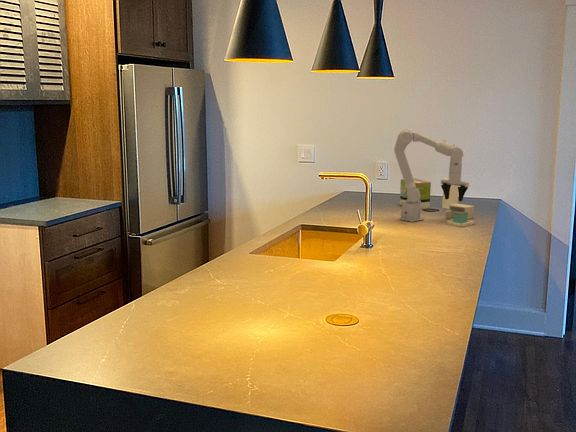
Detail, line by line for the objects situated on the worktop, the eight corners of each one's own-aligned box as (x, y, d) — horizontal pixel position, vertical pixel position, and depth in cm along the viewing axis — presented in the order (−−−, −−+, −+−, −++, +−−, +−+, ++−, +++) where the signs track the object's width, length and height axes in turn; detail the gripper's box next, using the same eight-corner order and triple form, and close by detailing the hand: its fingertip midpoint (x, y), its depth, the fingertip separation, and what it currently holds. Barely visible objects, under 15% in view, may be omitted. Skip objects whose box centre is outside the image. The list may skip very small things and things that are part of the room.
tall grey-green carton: (460, 224, 308) (461, 214, 307) (453, 223, 311) (453, 213, 310) (467, 223, 312) (468, 212, 311) (460, 221, 315) (460, 211, 314)
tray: (461, 227, 305) (461, 224, 305) (446, 224, 311) (446, 221, 311) (474, 224, 312) (474, 221, 312) (458, 221, 318) (458, 218, 318)
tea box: (398, 205, 363) (400, 178, 361) (413, 204, 368) (415, 178, 365) (415, 209, 350) (416, 182, 347) (430, 208, 354) (431, 181, 351)
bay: (459, 220, 320) (460, 208, 319) (442, 217, 327) (442, 206, 326) (473, 217, 328) (474, 206, 327) (456, 215, 335) (457, 203, 334)
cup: (459, 208, 353) (460, 179, 350) (443, 208, 353) (445, 179, 350) (455, 206, 361) (457, 177, 358) (440, 206, 361) (442, 177, 358)
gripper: (473, 173, 312) (471, 201, 315) (447, 170, 323) (445, 197, 325) (464, 174, 308) (463, 202, 310) (438, 171, 318) (437, 198, 321)
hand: (453, 200), depth 317 cm, fingers open, 7 cm apart
